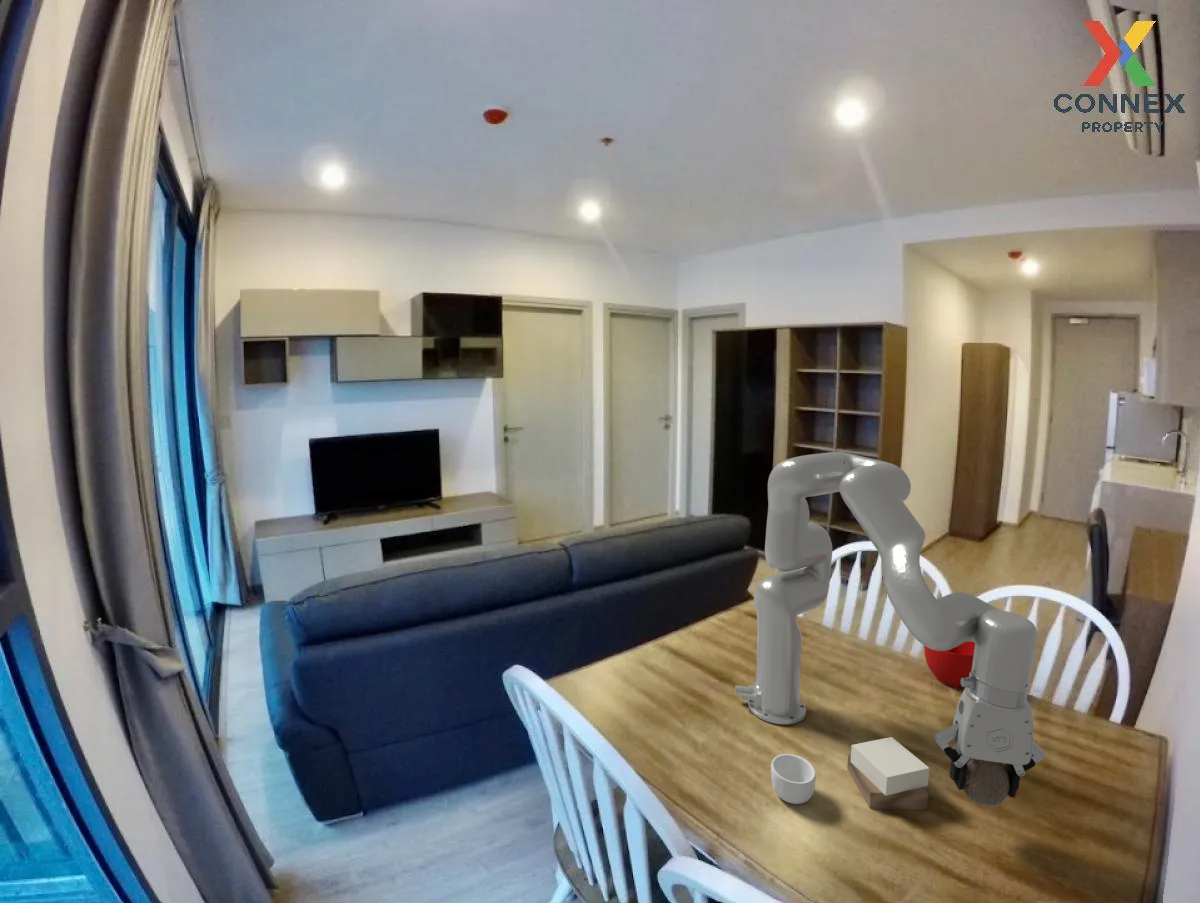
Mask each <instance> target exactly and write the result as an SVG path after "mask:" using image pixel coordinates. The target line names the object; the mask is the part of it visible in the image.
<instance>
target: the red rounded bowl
mask: <svg viewBox="0 0 1200 903" xmlns="http://www.w3.org/2000/svg"><path fill="white" fill-rule="evenodd" d="M923 646H924V645H923ZM974 649H975V643H974V642H972V641H971V642H964V643H962V644H961V645H959V646H957V647H955V648H953V649H950V650H947V651H936V650H932V649H930V648H927V647H926V646H924V647H923V650H924V651H923V652H924V657H925V661H926V664H927V665H926V666H928V669H929V670H930V672H931V673H932V674H933V676H935V678H936V680H937V681H938V682H940V683H941V684H944V685H945V686H949V687H954V688H964V687H963V686H962V685H961V678H968V677H969V674H970V672H971V670H972V663H973V656H974Z"/></svg>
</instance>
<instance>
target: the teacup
mask: <svg viewBox="0 0 1200 903" xmlns="http://www.w3.org/2000/svg"><path fill="white" fill-rule="evenodd" d="M816 773H817V772H816V770H815V768H814V766H813V765H812V764H811V762H809V760H808V759H807V758H806V759H805V758H804V757H802V756H800V755H797V754H792V753H781V754H778V755H776V756H774V757H773V759H772V760H771V764H770V775H771V777H770V778H771V785H772V787H773V790H774V792H775V794H776V795H777V796H778V797H779V799H781V800H783V801H785V802H787V803H790V804H793V805H801V804H804V803H806V802H808V801H809V800H810V799H811V797H812V796H813V794H814V791H815V786H816V781H817V780H816V777H817V775H816Z"/></svg>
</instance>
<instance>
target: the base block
mask: <svg viewBox="0 0 1200 903" xmlns="http://www.w3.org/2000/svg"><path fill="white" fill-rule="evenodd" d="M846 769H847V771H848V773H849V774H850V776H851V779H852V780H853V782H854V783H855V785H856V787H857V790H859V793H860V794H861V796H862V797H863V799H864V801H865V803H866V805H867V806H868V809H878V810H879V809H885V810H887V809H888V810H889V809H891V810H928V805H929V796H930V794H929V792H928V791H927V789H926V788H925V787H921V788H917V789H912V790H908V791H904V792H899V793H895V794H891V795H886V796H885V795H884V794H883V793H882V792H881V791H880V790H879V789H878V788H877V787H876V786H875V785H874V784H873V783H872V782H871V781H870V780H869V779H868V778H867V777H866V776H865V775H864V774H863V773H862V772H861V771H860V770H858V769H857V768H856V767H855V766H854V765H853V764H852V763H851V754H847V767H846Z"/></svg>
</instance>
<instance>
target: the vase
mask: <svg viewBox="0 0 1200 903" xmlns="http://www.w3.org/2000/svg"><path fill="white" fill-rule="evenodd" d="M964 766H965V768H966V777H965V784H964V789H963V790H962V791H963V792H964V793H965V795H966V796H967V797H968V798H969V800H971V801H972V802H973V803H975V804H977V805H979V806H983V807H985V808H988V807H989V808H992V807H996V806H999V805H1001V804H1002V803H1003V802H1004V801H1005V800H1006V799H1007V796H1009V795H1008V791H1009V777H1008V773H1007V771H1006V769H1005V767H1004V763H997V762H990V761H983V760H977V759H971V758H969V760H968V761H967V762H966V763H965V764H964Z"/></svg>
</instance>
